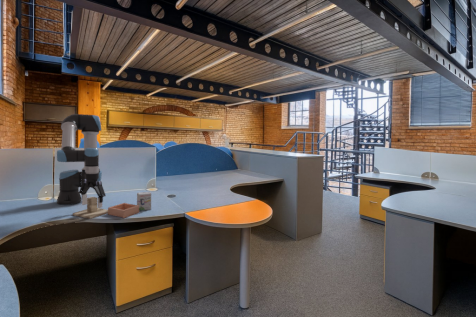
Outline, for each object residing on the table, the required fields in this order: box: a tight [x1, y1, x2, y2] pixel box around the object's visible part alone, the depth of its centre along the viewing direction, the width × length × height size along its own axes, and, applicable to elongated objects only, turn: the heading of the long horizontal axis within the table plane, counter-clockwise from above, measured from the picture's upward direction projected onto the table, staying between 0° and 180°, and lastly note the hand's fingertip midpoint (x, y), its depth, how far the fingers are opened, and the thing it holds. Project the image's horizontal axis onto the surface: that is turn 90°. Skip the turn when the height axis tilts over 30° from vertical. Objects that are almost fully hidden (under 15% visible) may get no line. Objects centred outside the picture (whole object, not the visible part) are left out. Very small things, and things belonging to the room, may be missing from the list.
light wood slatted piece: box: [72, 196, 108, 220], centre depth 161 cm, size 15×15×10 cm
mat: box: [72, 213, 108, 220], centre depth 162 cm, size 16×16×1 cm
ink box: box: [136, 191, 152, 211], centre depth 176 cm, size 9×5×12 cm, turn 126°
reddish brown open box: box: [107, 202, 140, 219], centre depth 165 cm, size 13×13×5 cm
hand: (92, 206), depth 161 cm, fingers open, 13 cm apart
